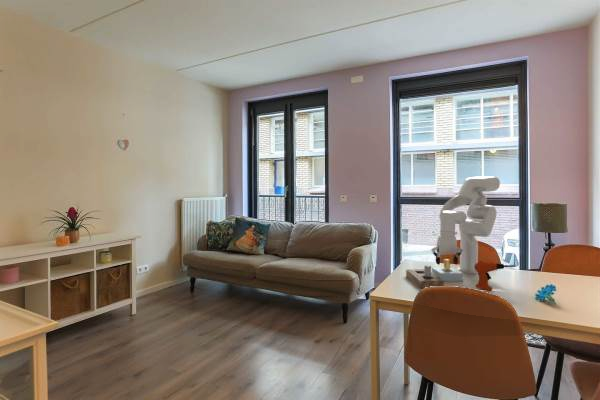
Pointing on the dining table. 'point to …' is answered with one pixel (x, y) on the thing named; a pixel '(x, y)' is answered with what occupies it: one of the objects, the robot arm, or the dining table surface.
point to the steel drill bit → (427, 272)
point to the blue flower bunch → (546, 293)
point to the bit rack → (419, 280)
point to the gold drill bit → (446, 265)
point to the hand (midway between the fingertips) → (446, 264)
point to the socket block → (448, 274)
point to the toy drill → (484, 276)
